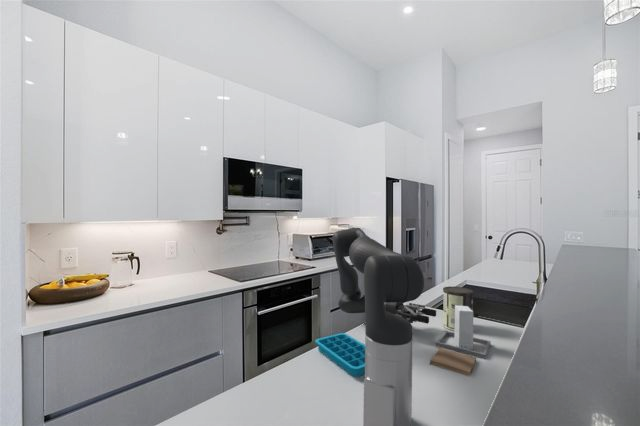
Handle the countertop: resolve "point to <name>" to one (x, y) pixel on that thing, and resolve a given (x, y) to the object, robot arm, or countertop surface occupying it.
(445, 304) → the coffee can
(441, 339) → the grey flat rectangular frame
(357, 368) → the ice cube tray
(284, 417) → the countertop surface
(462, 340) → the skincare box
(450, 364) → the walnut board
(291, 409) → the countertop surface
